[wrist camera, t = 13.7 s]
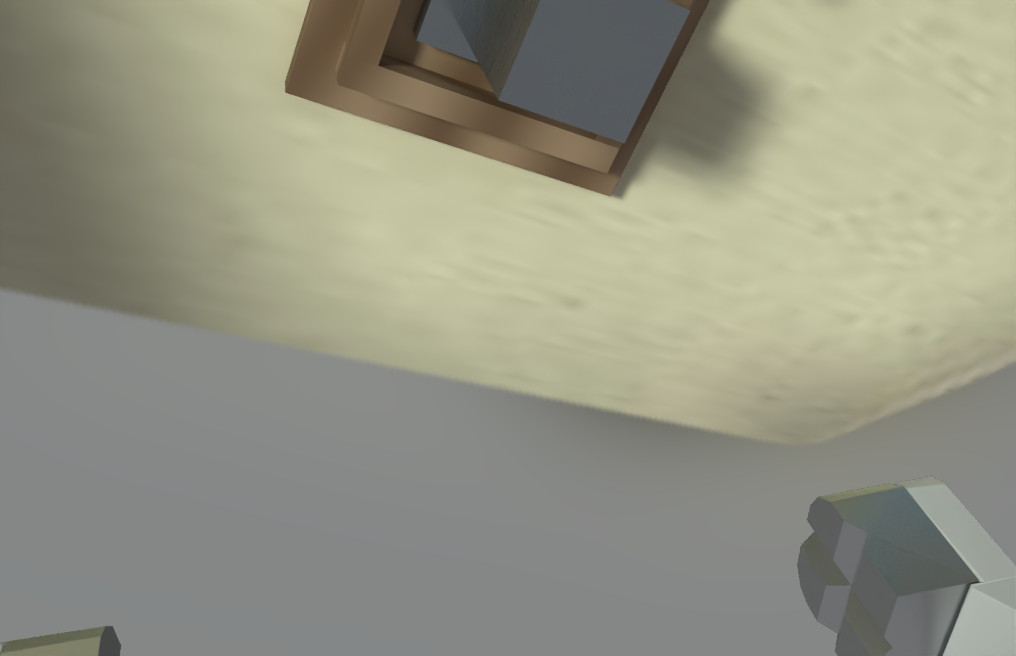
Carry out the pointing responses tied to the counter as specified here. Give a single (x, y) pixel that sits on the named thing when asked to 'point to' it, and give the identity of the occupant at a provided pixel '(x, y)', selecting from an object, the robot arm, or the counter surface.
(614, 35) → the grey block on base
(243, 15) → the counter surface
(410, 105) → the brown wooden square tray
